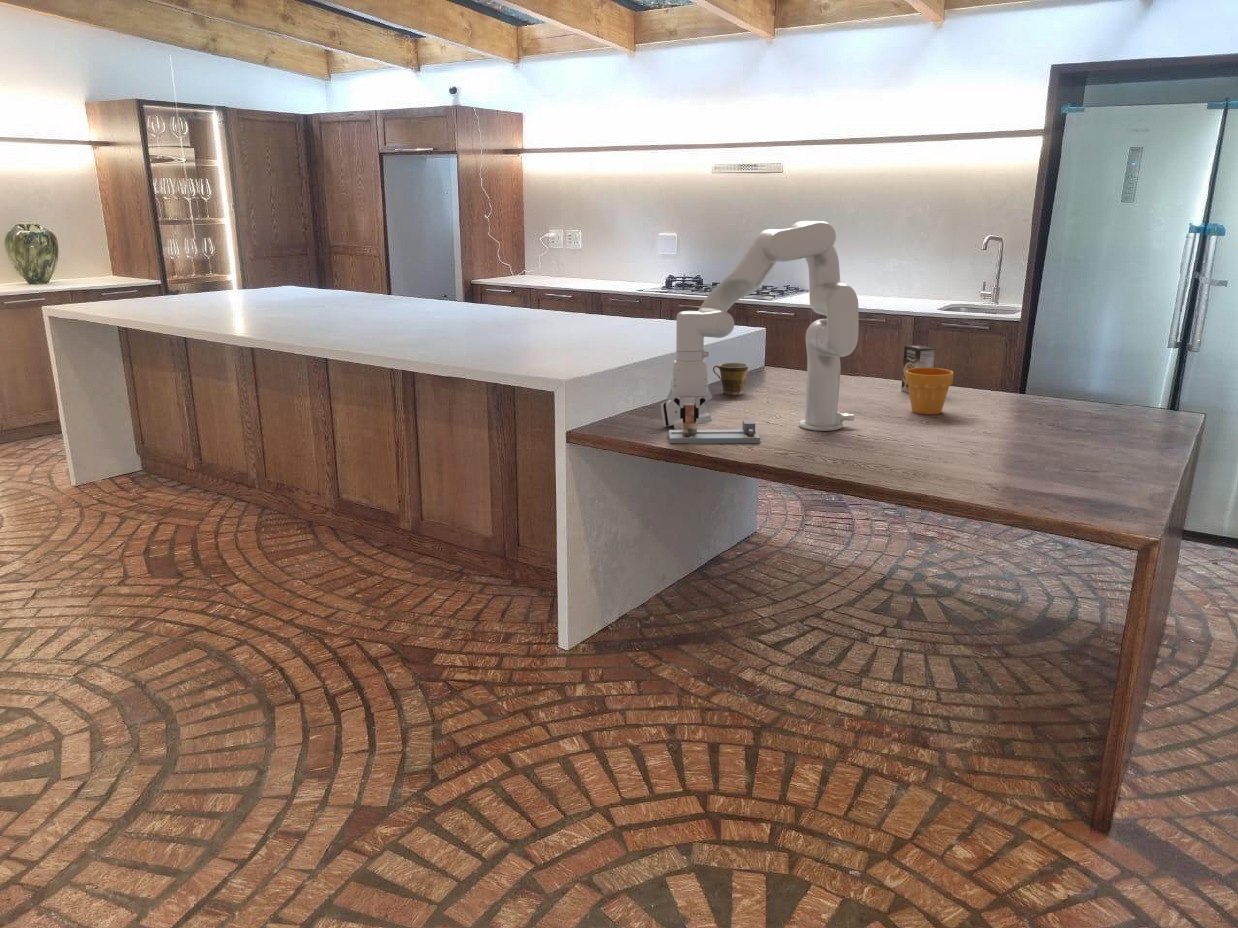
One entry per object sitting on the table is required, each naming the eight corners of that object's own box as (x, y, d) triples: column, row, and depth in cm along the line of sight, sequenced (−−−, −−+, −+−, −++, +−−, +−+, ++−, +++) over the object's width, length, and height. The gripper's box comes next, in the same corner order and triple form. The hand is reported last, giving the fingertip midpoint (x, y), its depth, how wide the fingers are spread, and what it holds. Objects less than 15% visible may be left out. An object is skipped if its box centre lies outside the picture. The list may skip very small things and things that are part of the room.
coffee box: (900, 390, 315) (903, 345, 311) (915, 389, 317) (919, 344, 313) (915, 395, 307) (919, 348, 303) (931, 394, 309) (935, 347, 304)
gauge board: (755, 434, 257) (756, 418, 255) (760, 443, 247) (760, 426, 246) (668, 434, 257) (668, 419, 256) (670, 443, 247) (670, 427, 246)
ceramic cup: (751, 392, 316) (752, 364, 313) (740, 397, 308) (740, 368, 305) (718, 388, 323) (719, 361, 320) (706, 393, 315) (706, 365, 312)
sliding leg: (695, 429, 255) (696, 402, 253) (697, 437, 247) (698, 409, 245) (681, 430, 255) (681, 403, 253) (683, 437, 247) (683, 409, 245)
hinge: (675, 429, 264) (667, 396, 263) (664, 432, 267) (656, 400, 267) (712, 420, 275) (705, 388, 274) (701, 423, 278) (694, 392, 278)
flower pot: (904, 415, 277) (907, 374, 274) (901, 406, 291) (904, 366, 287) (952, 417, 274) (956, 375, 271) (947, 407, 287) (950, 368, 284)
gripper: (717, 354, 250) (716, 417, 255) (660, 354, 251) (660, 418, 256) (720, 358, 243) (719, 423, 248) (661, 358, 244) (661, 424, 249)
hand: (689, 420), depth 252 cm, fingers closed on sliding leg, 2 cm apart
